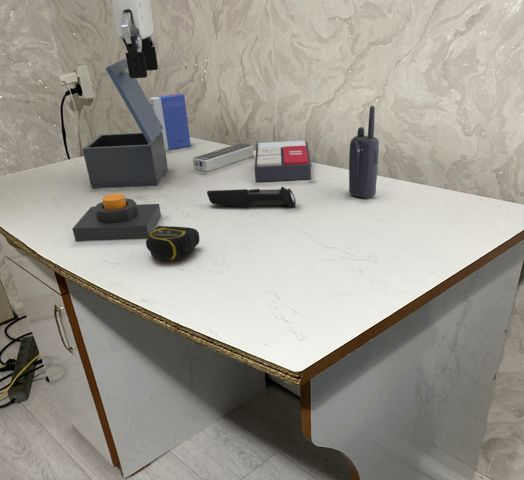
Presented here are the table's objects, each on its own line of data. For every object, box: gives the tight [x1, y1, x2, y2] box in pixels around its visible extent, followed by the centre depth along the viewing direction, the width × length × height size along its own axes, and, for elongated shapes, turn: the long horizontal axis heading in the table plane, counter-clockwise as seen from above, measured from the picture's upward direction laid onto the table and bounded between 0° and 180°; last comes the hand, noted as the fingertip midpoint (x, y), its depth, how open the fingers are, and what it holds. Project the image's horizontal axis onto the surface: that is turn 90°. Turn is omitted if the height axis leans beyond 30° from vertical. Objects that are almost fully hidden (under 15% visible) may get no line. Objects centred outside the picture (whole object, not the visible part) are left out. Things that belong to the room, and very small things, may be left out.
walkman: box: [149, 92, 192, 152], centre depth 129 cm, size 8×3×12 cm, turn 116°
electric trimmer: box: [206, 186, 297, 208], centre depth 94 cm, size 4×16×3 cm, turn 83°
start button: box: [101, 192, 127, 210], centre depth 87 cm, size 4×4×2 cm
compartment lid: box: [105, 58, 163, 144], centre depth 104 cm, size 14×12×5 cm
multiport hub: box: [192, 142, 254, 173], centre depth 118 cm, size 4×14×2 cm, turn 136°
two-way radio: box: [348, 105, 380, 199], centre depth 92 cm, size 6×4×15 cm
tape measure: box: [145, 225, 200, 261], centre depth 78 cm, size 7×7×4 cm
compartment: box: [81, 132, 169, 189], centre depth 111 cm, size 14×12×8 cm
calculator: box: [254, 140, 312, 183], centre depth 111 cm, size 11×4×15 cm
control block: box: [72, 197, 162, 242], centre depth 89 cm, size 12×10×4 cm
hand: (144, 73), depth 102 cm, fingers open, 9 cm apart
